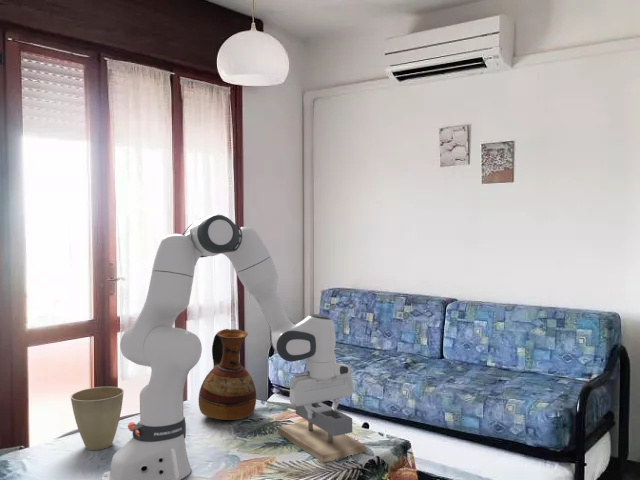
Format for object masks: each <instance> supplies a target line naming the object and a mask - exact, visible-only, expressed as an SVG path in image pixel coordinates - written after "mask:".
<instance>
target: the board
mask: <svg viewBox="0 0 640 480" xmlns="http://www.w3.org/2000/svg"><path fill="white" fill-rule="evenodd" d="M277 434H278V435H280V437H281V436H282V437H283V438H284V439H286V440H287V441H288V442H290V443H292V444H294V445H295V446H297V447H298V448H300V449H301V450H303V451H304V452H306V453H307V454H309V455H311V456H312V457H314V458H315V459H317V460H318V461H320V462H322V464H323V463H327V462H331V461H335V459H336V460H339V458H340V459H344V458H348V457H351V456H350V455H352V456H355V455H354V454H356V455H359V454H358V453H360V454H363V453H362V452H364V453H366V449H367V448H366V444H364V443H362V442H360V441H359V440H357V439H355V438H353V437H351V436H349V435H347V434H342V435H338V436H333V435H331V434H329V433H328V432H326V431H324V430H323V429H321V428H319V427H317V426H316V425H314V424H312V423H311V422H309V421H307V420H305V421H300V422H296V423H291V424H287V425H286V424H285V425H282V426H277ZM347 456H348V457H347ZM343 457H344V458H343Z"/></svg>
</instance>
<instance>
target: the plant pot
mask: <svg viewBox="0 0 640 480" xmlns="http://www.w3.org/2000/svg"><path fill="white" fill-rule="evenodd" d="M123 399H124V389H123V388H121V387H117V386H96V387H91V388H84V389H81V390H78V391H75V392H74V393H72V394H71V395H70V401H71V406H72V407H71V408H72V411H73V416H74V419H75V423H76V427H77V429H78V432H79V435H80V437H81V440H82V442H83V444H84V446H85V448H86V449H87V450H89V449H90V451H98V450H99V449H100V450H104V448H105V449H107V448H110V447H111V446H112V445H113V443H114V440H115V437H116V433H117V431H118V430H117V429H118V426H119V423H120V417H121V412H122V408H123V402H124V401H123Z"/></svg>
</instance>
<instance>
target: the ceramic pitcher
mask: <svg viewBox="0 0 640 480" xmlns="http://www.w3.org/2000/svg"><path fill="white" fill-rule="evenodd" d="M214 335H215V336H214V337H213V340H212V341H213V342H212V346H211V355H212V356H211V357H212V363H213V367H212V369H211V370H210V371H209V372H208V374H206V376H205V378H204V379H203V381H202V383H201V386H200V389H199V392H198V393H199V394H198V408H199V411H200V413H201V414H202V415H203V416H205V417H207V418H210V419H216V420H220V421H221V420H222V421H223V420H224V421H225V420H226V421H235V420H243V419H245V418H247V417H249V416H250V415H252V414H253V413H254V411H255V409H256V404H257V391H256V386H255V383H254V380H253V378H252V376H251V374H250V373H249V371H248V370H247V369H246V368H245V367H244V366H243V365H241V361H240V353H241V347H242V344H243V342H244V340H245V338H247V336H248V335H249V334H248V332H247V331H244V330H241V329H236V328H234V329H233V328H231V329H228V328H226V329H225V328H224V329H220V330H219V331H217V332H216V334H214Z"/></svg>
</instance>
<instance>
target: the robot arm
mask: <svg viewBox="0 0 640 480" xmlns="http://www.w3.org/2000/svg"><path fill="white" fill-rule="evenodd" d="M221 254H222V255H224V256H226V257H227V258H228V260H229V261H230V262H231V263H232V266H233V270H234V272H235V273H236V275H237V277H238V279H239V281H240V282H241V284H242V286H243V287H244V289H245V290H246V291H247V292H248V293H249V294H250V296H252V297H253V299H254V300H256V301H257V303H258V305H259V307H260V308H261V311H262V312H263V315H264V317H265V319H266V322H267V324H268V327H269V342H270V344H271V345H270V346H272V349H273V350H274V351H275V352H276V353H277V354H278V356H279V357H280V358H282V360H283V361H286V362H290V363H291V362H300V361H302V360H305V361H306V364H305V365H306V368H305V369H306V370H305V371H303V372H296V373H293V375H292V376H291V377H290V378H289V387H290V389H289V402H290V403H291V405H293V406H295V407H296V406H302V405H304V407H305V409H306V410H307V412H308V418H310V419H312V418H315V412H313V411H311V409H310V407H312V404H313V403H318V402H321V403H323V402H327V401H333V402H332V405H331V406H330V407H331V408H333V409H335V410H337V411H338V407H339V403H340V400H341V399H343V398H348V397H352V395H353V393H354V382H353V377H352V374H351V372H352V367H351V366H350V365H348V364H345V363H342V362H339V361H337V357H336V353H335V349H336V346H337V345H336V344H337V343H336V329H335V323H334V321H333V320H332V319H331V318H330V316H326V315H323V314H316V313H315V314H314V313H313V314H312V313H311V314H309V315H307V316H306V317H305V318H304V319H302V320H300V321H299V322H298V323H295V322H293V321H292V320H291V319H290V317H289V316H288V314H287V312H286V310H285V308H284V305H283V303H282V301H281V300H280V299H281V298H280V297H279V294H278V281H279V276H278V273H277V269H276V265H275V262H274V260H273V258H272V256H271V254H270V252H269V250H268V248H267V246H266V244H265V242H264V240H263V239H262V237H260V235H259V234H258V232H257V231H256V229H254V228H252V227H250V226H241V227H240V226H239V225H237V224H236V223H234V222H233V221H232V220H231V219H230V218H229V217H227V216H225V215H223V214H218V213H217V214H216V213H215V214H210V215H207V216H203V217H200V218H199V219H197V220H196V221H194V222H192V223H191V224H190V225H189V226H187V228H186V229H185V231H184V232H183V233H182V234H179V233H173V234H168V235H166V236H164V237H163V238H162V239H161V241H160V243H159V246H158V248H157V251H156V255H155V258H154V260H153V261H154V262H153V265H152V270H151V275H150V280H149V286H148V290H147V294H146V298H145V302H144V304H143V307H142V309H141V311H140V313H139V314H138V316H137V318H136V320H135V321H134V323H133V324H132V325H131V326H130V327H128V329H126V330H125V331H124V332H123V334H122V335H121V337H120V342H119V343H120V344H119V347H120V352H121V354H122V356H123V357H124V358H125V359H127V360H128V361H130V362H132V363H134V364H136V365H139V366H144V367H148V368H149V367H150V368H151V371H150V372H151V373H150V378H149V381H148V383H147V384H146V385H145V386H144V387H143V388H142V389H141V391H140V393H139V418H140V419H139V420H140V421H138V422H137V423H135V422H133V421H130V422H129V423H128V424H127V429H128V430H129V431H130V432H132V438H130V440H128V441H127V442H126V443H125V444H124V445H123V446H122V447H120V449H118V450H116V452H115V453H114V454H113V455H112V458H111V463H110V470H108V471H105V472H104V473H103V474H102V476H101V478H100V479H101V480H182V479H184V478H185V477H187V476H188V475H190V473H191V472H192V468H191V464H190V461H189V457H188V452H187V448H186V447H187V446H186V437H187V436H186V434H187V423H186V417H185V416H184V391H185V384H186V381H187V379H188V375H189V374H190V371H191V370H192V369H193V368H194V367H195V366H197V364H198V363H199V361H200V358H201V356H202V351H203V348H202V347H203V346H202V341H201V339H200V338H199V337H198V335H197V334H195V333H193V332H191V331H189V330H187V329H184V328H181V327H173V326H174V324H175V322H176V321H177V318H178V317H179V315H180V314H181V313H182V312H185V310H186V309H187V308H188V307H189V305H190V299H191V295H192V290H193V289H192V288H193V283H194V276H195V272H196V271H195V269H196V268H195V267H196V265H197V262H198V261H199V259H200V258H208V257H215V256H218V255H221Z"/></svg>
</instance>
